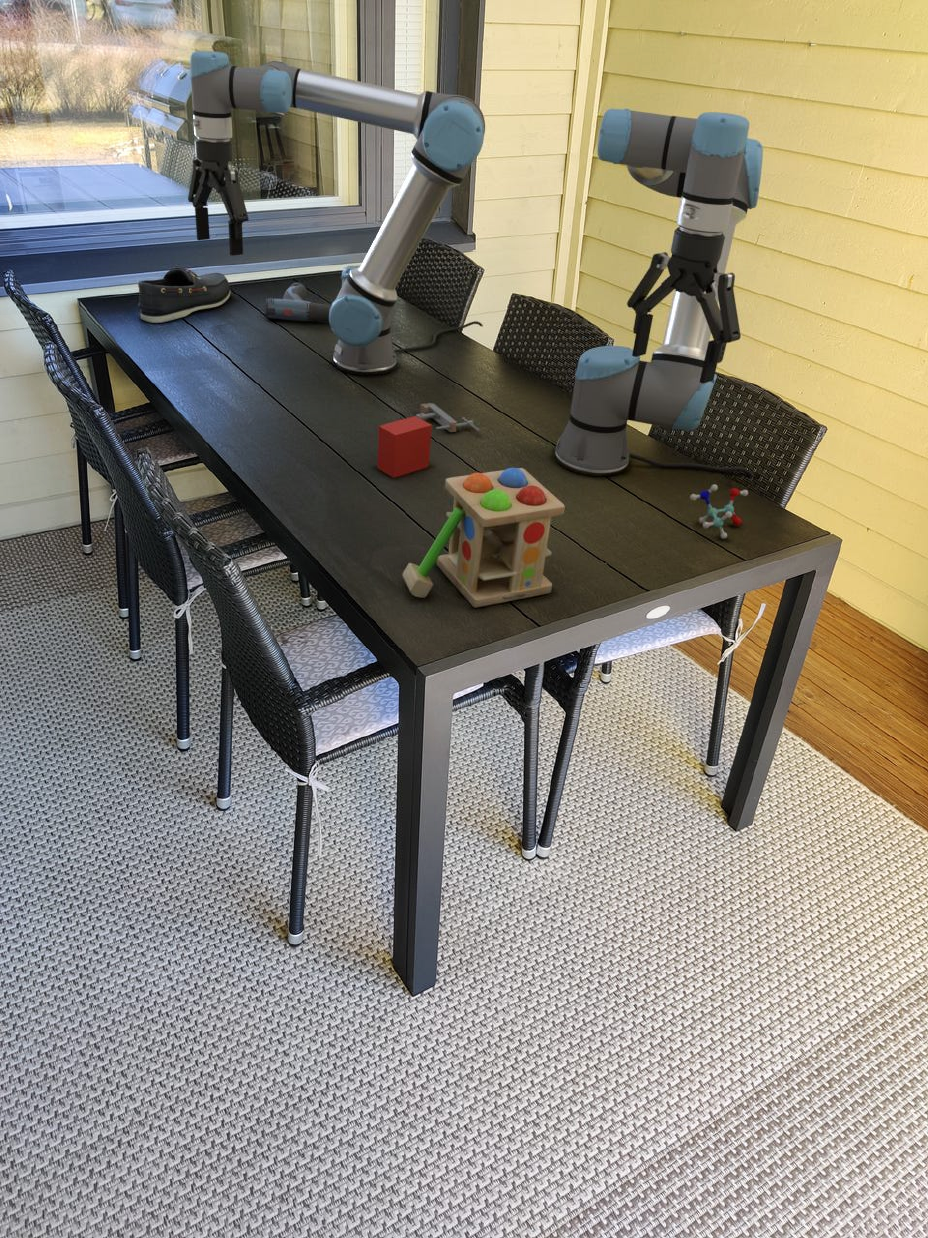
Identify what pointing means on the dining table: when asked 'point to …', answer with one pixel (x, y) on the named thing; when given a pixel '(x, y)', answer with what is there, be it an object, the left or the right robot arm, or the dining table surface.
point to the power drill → (296, 306)
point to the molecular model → (713, 512)
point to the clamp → (443, 418)
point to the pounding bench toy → (492, 538)
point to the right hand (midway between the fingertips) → (671, 368)
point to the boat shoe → (180, 294)
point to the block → (404, 446)
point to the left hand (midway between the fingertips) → (219, 246)
